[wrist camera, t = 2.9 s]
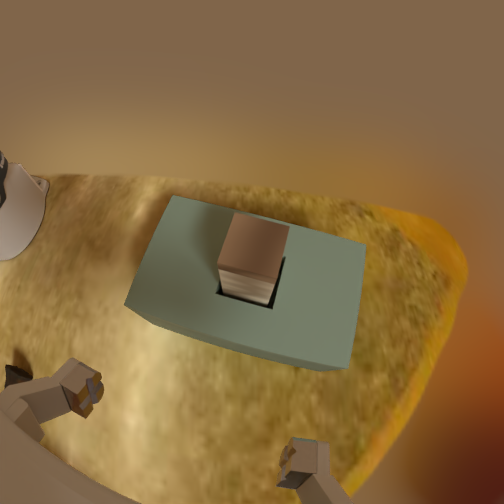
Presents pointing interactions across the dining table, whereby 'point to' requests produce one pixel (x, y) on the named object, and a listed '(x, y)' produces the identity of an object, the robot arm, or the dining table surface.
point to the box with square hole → (245, 314)
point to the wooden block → (251, 258)
